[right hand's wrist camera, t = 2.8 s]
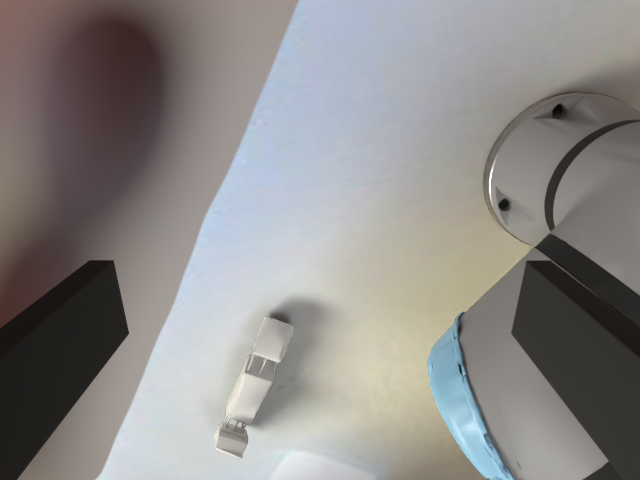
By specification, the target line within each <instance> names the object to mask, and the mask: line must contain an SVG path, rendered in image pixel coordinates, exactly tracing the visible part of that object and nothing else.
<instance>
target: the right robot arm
mask: <svg viewBox="0 0 640 480" xmlns="http://www.w3.org/2000/svg"><path fill="white" fill-rule="evenodd" d="M483 182H484V195H485V200H486V203H487V206H488V209H489V211H490V213H491V214H492V216H493V218H494V219H495V220H496V222H497V223H498V224H499V225H500V226H501V227H502V228H503V229H504V230H506V231H507V232H508V233H510V234H511V235H512V236H513V237H515V238H516V239H518V240H520V241H522V242H524V243H526V244H529V245H532V246H535V247H534V248H533V249H532V250H531V251H530V252H529V253H528V254H527V255H526V256H525V257H524V258H523V259H521V260H520V261H519V262H518V263H517V264H516V265H515V266H514V267H513V268H512V269H511V270H510V271H509V272H508V273H507V274H506V275H505V276H503V277H502V278H501V279H500V280H499V281H498V282H497V283H496V284H495V285H494V286H493V287H492V288H491V289H490V290H489V291H488V292H486V293H485V294H484V295H483V296H482V297H481V298H480V299H479V300H478V301H477V302H476V303H475V304H474V305H473V306H472V307H471V308H470V309H468V310H467V311H466V312H462V313H460V314H459V315H458V316H457V317H456V319H455V322H454V324H453V325H452V326H451V327H450V328H449V329H448V331H447V332H446V333H445V334H444V335H443V336H442V337H441V338H440V339H439V340H438V341H437V342H436V343H435V344H434V346H433V347H432V349H431V351H430V354H429V358H428V374H429V378H430V379H429V381H430V387H431V390H432V393H433V396H434V399H435V402H436V404H437V407H438V409H439V411H440V413H441V415H442V417H443V419H444V421H445V423H446V425H447V427H448V429H449V430H450V432H451V434H452V435H453V437H454V439H455V440H456V442H457V443H458V445H459V446H460V448H461V449H462V451H463V452H464V454H465V455H466V456H467V458H468V459H469V460H470V462H471V463H472V464H473V465H474V466H475V468H476V469H477V470H478V471H479V472H480V473H481V474H482V475H483V476H484V477H485V478H490V479H491V480H640V113H639V112H638V111H636V110H635V109H633V108H632V107H630V106H629V105H627V104H626V103H624V102H622V101H620V100H618V99H616V98H613V97H611V96H607V95H603V94H596V93H568V94H562V95H557V96H554V97H550V98H548V99H545V100H542V101H540V102H538V103H536V104H534V105H533V106H531V107H529V108H528V109H526V110H525V111H523V112H522V113H521V114H519V115H518V116H517V117H516V118H515V119H514V120H513V121H512V122H511V123H510V124H509V125H508V126H507V127H506V128H505V129H504V130H503V132H502V133H501V134H500V136H499V137H498V139H497V140H496V142H495V144H494V146H493V148H492V150H491V152H490V154H489V157H488V159H487V163H486V167H485V172H484V181H483ZM128 334H129V331H128V327H127V322H126V317H125V313H124V308H123V303H122V298H121V293H120V289H119V284H118V280H117V275H116V270H115V265H114V261H113V260H90V261H88V262H87V263H85V264H84V265H83V266H82V267H80V268H79V269H78V270H76V271H75V272H74V273H72V274H71V275H70V276H68V277H67V278H66V279H64V280H63V281H62V282H61V283H59V284H58V285H57V286H55V287H54V288H53V289H51V290H50V291H49V292H47V293H46V294H45V295H43V296H42V297H41V298H40V299H38V300H37V301H36V302H34V303H33V304H32V305H30V306H29V307H28V308H26V309H25V310H24V311H22V312H21V313H20V314H19V315H17V316H16V317H15V318H13V319H12V320H11V321H9V322H8V323H7V324H5V325H4V326H3V327H1V328H0V480H17V479H18V478H19V476H20V475H21V474H22V472H23V471H24V470H25V468H26V467H27V466H28V465H29V463H30V462H31V461H32V459H33V458H34V457H35V455H36V454H37V453H38V451H39V450H40V449H41V448H42V446H43V445H44V444H45V442H46V441H47V440H48V438H49V437H50V436H51V434H52V433H53V432H54V431H55V429H56V428H57V427H58V425H59V424H60V423H61V421H62V420H63V419H64V418H65V416H66V415H67V414H68V412H69V411H70V410H71V408H72V407H73V406H74V405H75V403H76V402H77V401H78V399H79V398H80V397H81V395H82V394H83V393H84V392H85V390H86V389H87V388H88V386H89V385H90V384H91V382H92V381H93V380H94V378H95V377H96V376H97V375H98V373H99V372H100V371H101V369H102V368H103V367H104V365H105V364H106V363H107V362H108V360H109V359H110V358H111V356H112V355H113V354H114V352H115V351H116V350H117V348H118V347H119V346H120V344H121V343H122V342H123V341H124V339H125V338H126V337H127V335H128Z"/></svg>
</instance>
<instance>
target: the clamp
mask: <svg viewBox="0 0 640 480" xmlns="http://www.w3.org/2000/svg"><path fill="white" fill-rule="evenodd" d="M293 329H294V326H293V325H290V324H287V323H285V322H282V321H279V320H276V319H273V318H271V317H265V318H264V320H263V323H262V325H261V328H260V330H259V333H258V336H257V338H256V341H255V344H254V346H253V353H252V355H249V356H248V358H247V360H246V362H245V364H244V367H243V369H242V371H241V373H240V376H239V378H238V380H237V382H236V385H235V387H234V389H233V391H232V393H231V396H230V398H229V400H228V402H227V405H226V416H227V417H229V418H228V421H227V423H225V422H221V423H220V424H219V425H218V428H217V431H216V433H215V436H214V442H215V448H216V449H217V451H218V452H221V453H223V454H226V455H228V456H231V457H234V458H236V459H241V458H242V455H243V452H244V450H245V448H246V446H247V444H248V435H247V431H246V430H245V429H244V428H245V427H246V425H250V423H251V422H252V421H253V419H254V417H255V415H256V413H257V412H258V410H259V408H260V406H261V404H262V402H263V400H264V398H265V396H266V394H267V393H268V391H269V389H270V387H271V385H272V383H273V381H274V376H275V371H276V363H277V362H281V361H282V360H283V358H284V356H285V354H286V352H287V349H288V346H289V343H290V341H291V338H292V333H293ZM253 354H254V355H253ZM255 355H258V356H260V357H263V358H264V359H263V358H260V357H257V356H255ZM267 359H269V360H272V361H275V362H272V361H269V360H267ZM230 418H232V419H235V420H237V423H236V425H232V424H228V422H229V420H230ZM239 421H240V422H242V428H241V427H238V426H237V424H238V422H239ZM244 423H245V425H244ZM243 425H244V427H243Z"/></svg>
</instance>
